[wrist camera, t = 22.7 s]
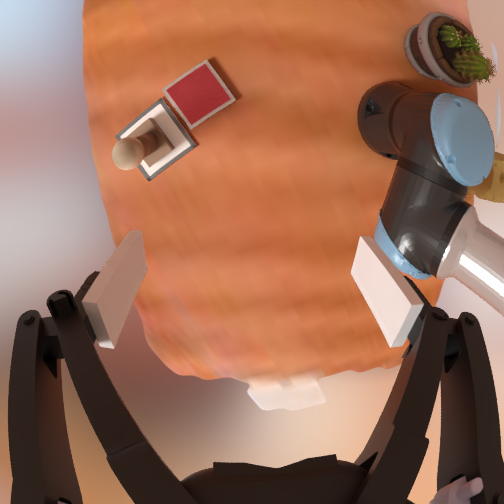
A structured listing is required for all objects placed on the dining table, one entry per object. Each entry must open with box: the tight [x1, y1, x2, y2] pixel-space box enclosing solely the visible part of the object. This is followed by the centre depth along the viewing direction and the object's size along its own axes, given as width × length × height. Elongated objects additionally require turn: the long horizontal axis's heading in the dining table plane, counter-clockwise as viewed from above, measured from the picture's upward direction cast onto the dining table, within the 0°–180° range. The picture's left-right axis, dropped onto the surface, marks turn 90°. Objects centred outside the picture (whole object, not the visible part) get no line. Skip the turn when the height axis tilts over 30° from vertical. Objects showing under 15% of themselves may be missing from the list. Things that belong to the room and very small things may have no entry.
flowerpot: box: [404, 12, 495, 88], centre depth 27 cm, size 14×15×20 cm
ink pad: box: [162, 59, 236, 129], centre depth 40 cm, size 9×9×2 cm
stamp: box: [112, 118, 175, 170], centre depth 38 cm, size 7×5×15 cm
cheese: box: [467, 152, 504, 203], centre depth 43 cm, size 10×11×10 cm
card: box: [115, 98, 197, 181], centre depth 44 cm, size 11×11×1 cm
